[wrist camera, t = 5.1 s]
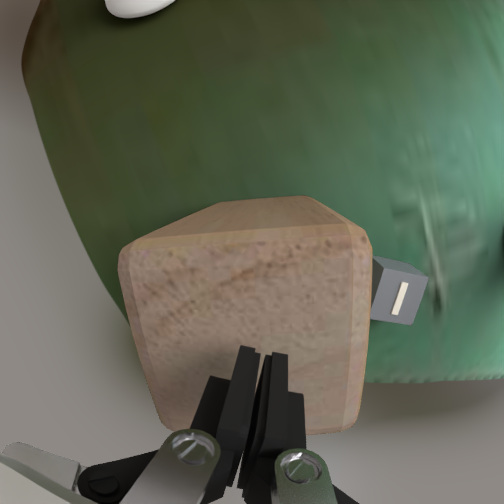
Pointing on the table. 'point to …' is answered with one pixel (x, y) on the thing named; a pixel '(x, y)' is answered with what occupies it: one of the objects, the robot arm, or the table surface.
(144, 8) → the flower in vase
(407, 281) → the charcoal block marked 1
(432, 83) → the table surface
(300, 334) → the wooden block
